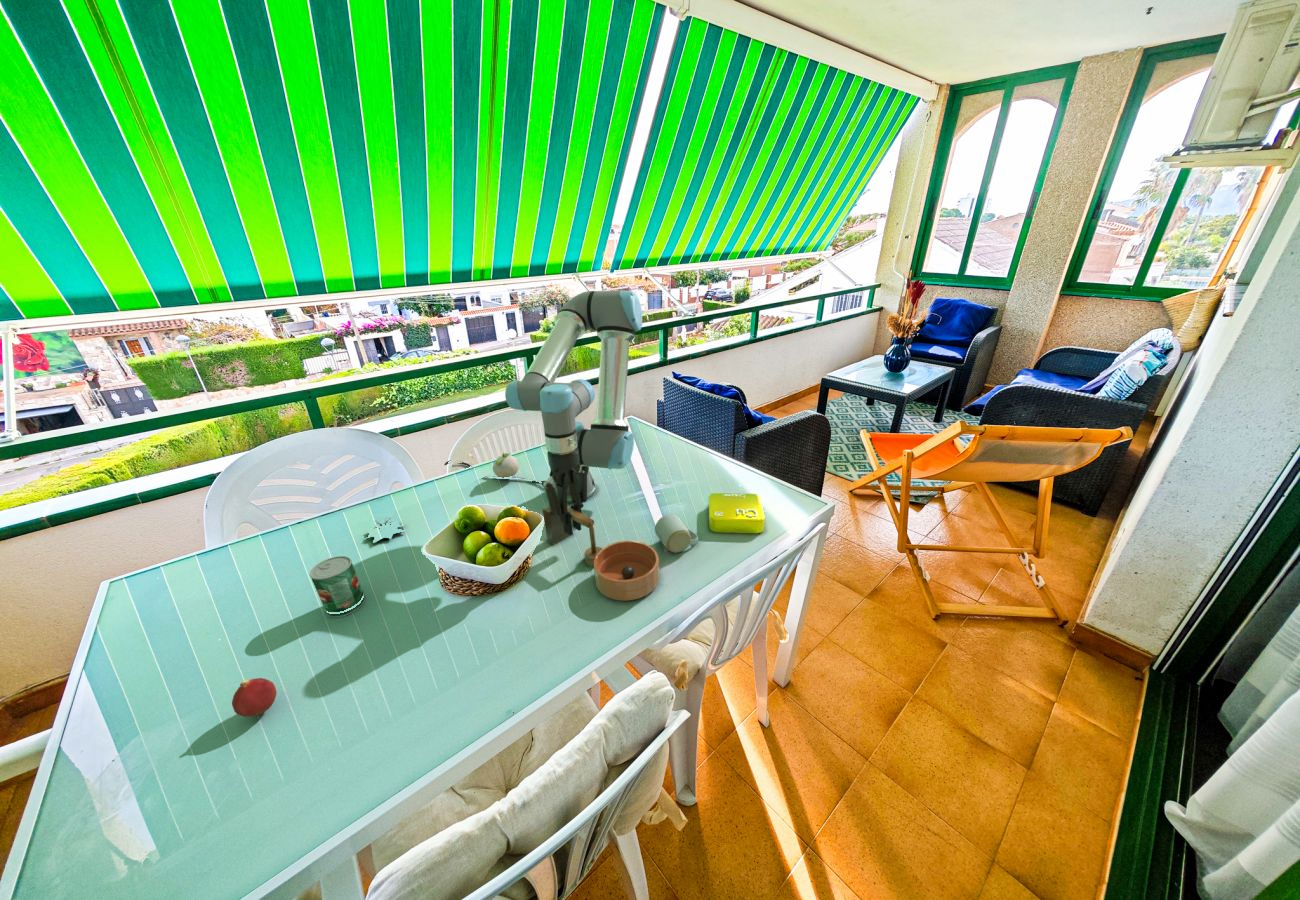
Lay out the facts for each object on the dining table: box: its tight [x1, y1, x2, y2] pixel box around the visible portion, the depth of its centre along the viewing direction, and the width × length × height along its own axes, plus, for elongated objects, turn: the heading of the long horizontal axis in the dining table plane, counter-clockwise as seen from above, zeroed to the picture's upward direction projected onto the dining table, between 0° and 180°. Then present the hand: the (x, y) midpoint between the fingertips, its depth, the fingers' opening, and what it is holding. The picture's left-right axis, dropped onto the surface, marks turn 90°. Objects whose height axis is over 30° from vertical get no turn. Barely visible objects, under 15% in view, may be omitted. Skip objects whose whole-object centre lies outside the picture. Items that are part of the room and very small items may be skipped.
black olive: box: [622, 566, 634, 579], centre depth 109 cm, size 3×3×3 cm
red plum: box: [231, 677, 278, 718], centre depth 80 cm, size 6×6×8 cm
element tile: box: [708, 492, 766, 534], centre depth 132 cm, size 15×15×5 cm
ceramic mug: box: [654, 513, 699, 554], centre depth 121 cm, size 11×8×8 cm
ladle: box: [548, 502, 603, 567], centre depth 120 cm, size 18×5×12 cm, turn 47°
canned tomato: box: [309, 555, 366, 619], centre depth 104 cm, size 8×8×11 cm
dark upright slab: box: [542, 505, 572, 546], centre depth 125 cm, size 3×6×10 cm, turn 137°
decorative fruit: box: [492, 452, 520, 478], centre depth 159 cm, size 9×8×10 cm
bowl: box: [593, 540, 660, 602], centre depth 109 cm, size 15×15×6 cm
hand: (572, 530), depth 120 cm, fingers open, 2 cm apart
